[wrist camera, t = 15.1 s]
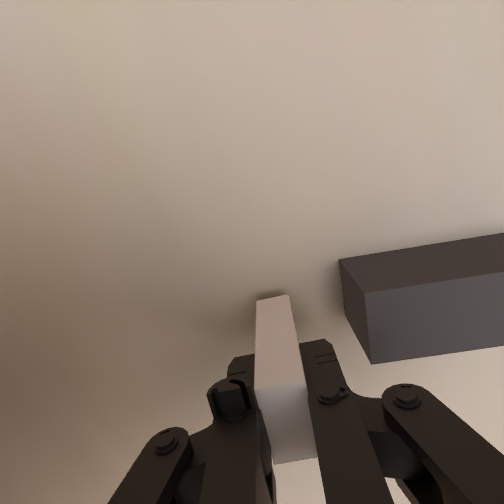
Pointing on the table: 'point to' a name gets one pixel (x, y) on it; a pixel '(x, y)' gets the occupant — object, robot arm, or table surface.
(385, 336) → the charcoal brick
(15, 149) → the table surface
